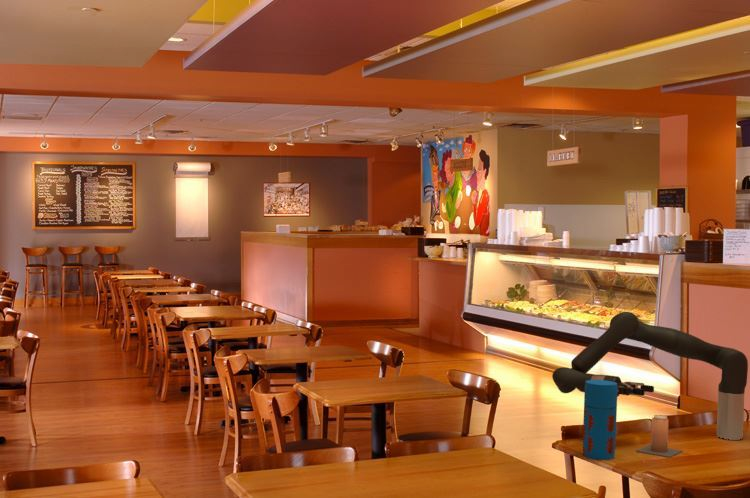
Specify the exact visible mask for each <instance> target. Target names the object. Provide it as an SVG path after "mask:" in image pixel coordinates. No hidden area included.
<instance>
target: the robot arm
mask: <svg viewBox="0 0 750 498" xmlns="http://www.w3.org/2000/svg"><path fill="white" fill-rule="evenodd" d="M625 339H627V340H632V341H635V342H639V343H643V344H646V345H647V346H650V347H652V348H655V349H658V350H661V351H663V352H666V353H668V354H671V355H674V356H677V357H681V358H684V359H690V360H694V361H695V360H696V361H701V362H704V363H706V364H709V365H711V366H714V367H716V368H718V369H720V370H721V379H720V382H719V383H718V387H717V388H718V391H717V392H718V393H717V413H716V414H717V415H716V435H717V436H716V438H719V437H720V438H719V439H722V438H724V439H723V440H728V439H729V440H728V441H740V439H741V440H743V439H744V438H743V437H744V434H743V433H744V417H745V415H744V414H745V413H744V411H745V393H746V392H745V391H746V386H747V383H748V372H749V371H748V370H749V363H748V357H747V356H746V355H745V354H744V352H742V351H740V350H738V349H736V348H732V347H726V346H722V345H718V344H713V343H710V342H707V341H705V340H703V339H701V338H699V337H697V336H695V335H692V334H690V333H688V332H684V331H681V330H678V329H676V328H675V329H674V328H672V327H668V326H667V327H666V326H659V325H652V324H648V323H644V322H643V321H641V320H639V318H638V316H637V315H636V314H635V313H633V312H631V311H621V312H620V313H618V314H615V315H614V316H613V317H612V318H611V319H610V321H609V327H608V328H607V329H606V330H605V331H604V332H603V334H601V335H600V336H598V338H596V339H595V340H593V342H591V343H590V344H589V345H588V346H586V347H585V348H583V349H582V350H581V351H580V352H579V353H578V354H577V355H576V356H575V357H573V359H572V360H571V363H570V365H571V368H570V367H566V366H565V367H563V366H562V367H557V368H556V369H555V370H553V372H552V374H551V375H552V381H553V382H554V384H555V386H556V388H557V389H558V390H559V392H560V393H563V394H569V393H572V392H574V391H575V390H576V389H577V390H578V392H582V393H585V383H586V381H588V380H606V381H612V382H616V383H617V388H618V389H617V398H618V397H620V395H623V396H633V395H635V396H642V397H643V396H645V392H646V393H654V392H655V386H654V385H647V384H645V383H643V382H634V381H633V382H632V381H624V382H622V380H621V378H620V376H617V375H616V376H615V375H608V374H602V373H601V374H594V373H588V372H589V371H590V370H591V369H592V368H593V367H595V366H596V365H597V364H598V363H599V362H600V361H601V360H602V359H603V358H604V357H605V356H606V355H607V354H608V353H609V352H610V351H611V350H612V349H614V347H616V346H617V345H619V343H621V342H623V341H624V340H625ZM742 438H743V439H742Z"/></svg>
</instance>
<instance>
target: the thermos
mask: <svg viewBox="0 0 750 498" xmlns="http://www.w3.org/2000/svg"><path fill="white" fill-rule="evenodd" d="M617 389H618V388H617V383H616V382H612V381H606V380H588V381H586V383H585V392H584V398H583V399H584V401H583V429H582V456H583V457H585V458H588V459H591V460H600V461H601V460H602V461H605V460H613V459H614V458H615V455H616V454H615V453H616V438H617V437H616V435H617V417H618V416H617V414H618V413H617V411H618V407H617V406H618V397H617Z"/></svg>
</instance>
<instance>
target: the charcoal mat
mask: <svg viewBox="0 0 750 498" xmlns="http://www.w3.org/2000/svg"><path fill="white" fill-rule="evenodd" d="M636 451H637V452H636ZM635 452H636V453H641V452H642V454H646V453H647V454H648V455H653V456H657V455H658V456H657V457H663V458H668V459H670V458H672V457H674V456H677V455H679V454H681V453H682V452H684V451H683V450H681V449H677V448H670V447H668V448H667V452H654V451H652V450H651V444H648V445H645V446H643V447H642V448H641V447H640V448H639V449H637V450H635Z"/></svg>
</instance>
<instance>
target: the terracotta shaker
mask: <svg viewBox="0 0 750 498" xmlns="http://www.w3.org/2000/svg"><path fill="white" fill-rule="evenodd" d="M650 436H651V437H650V438H651V439H650V445H651V450H652V451H654V452H667V448H669V447H668V445H669V442H668V441H669V419H668V416H667V415H662V414H654V415H653V417H652V418H651V435H650Z"/></svg>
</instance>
